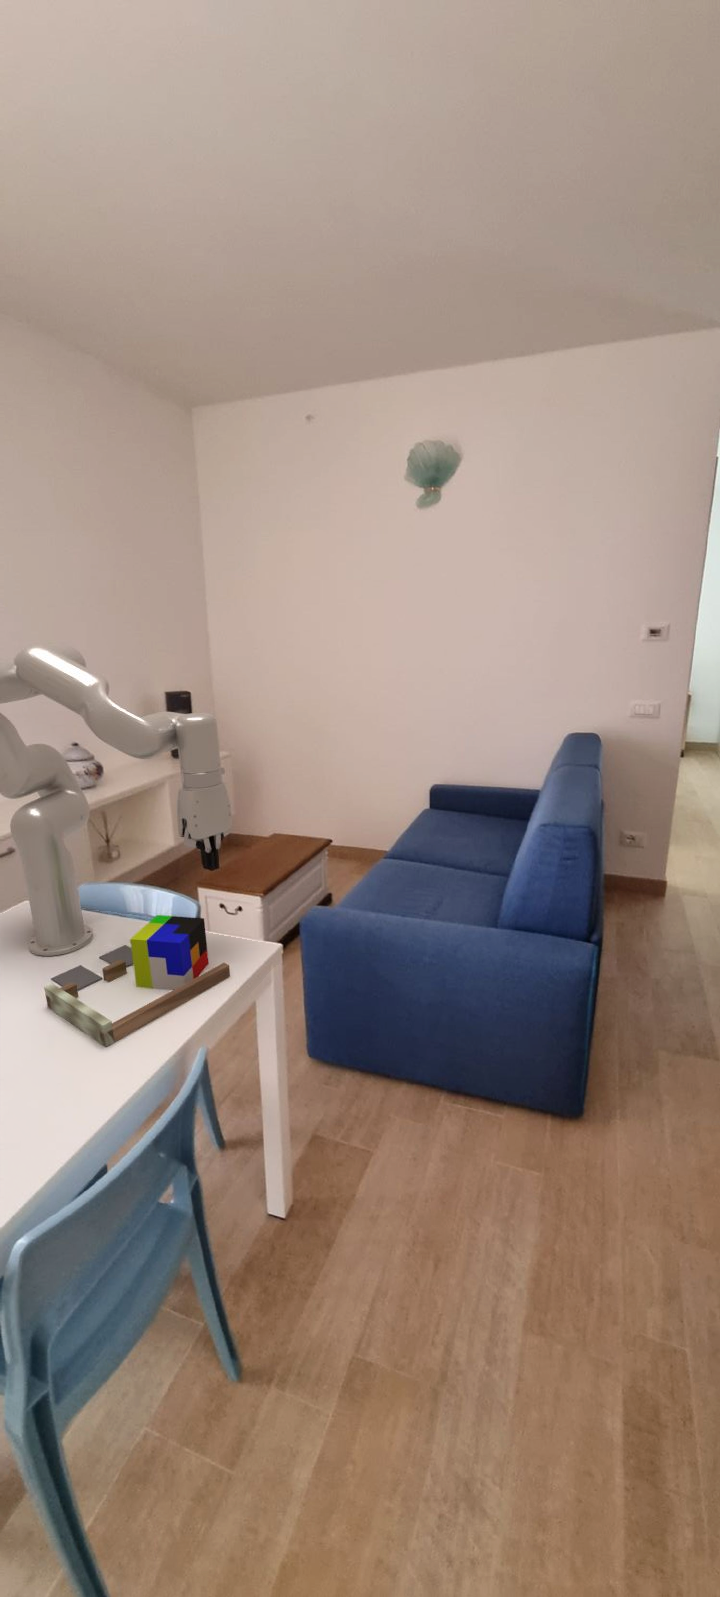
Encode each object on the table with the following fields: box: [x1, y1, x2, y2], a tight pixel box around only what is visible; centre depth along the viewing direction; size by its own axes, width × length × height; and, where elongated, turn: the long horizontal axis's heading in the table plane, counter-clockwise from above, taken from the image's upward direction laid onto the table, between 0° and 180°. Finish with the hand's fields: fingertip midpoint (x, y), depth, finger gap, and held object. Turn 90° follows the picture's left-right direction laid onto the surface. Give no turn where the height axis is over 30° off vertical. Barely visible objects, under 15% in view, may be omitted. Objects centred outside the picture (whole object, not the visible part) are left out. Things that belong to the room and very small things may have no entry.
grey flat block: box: [50, 964, 104, 991], centre depth 124 cm, size 8×6×1 cm
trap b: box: [98, 944, 134, 969], centre depth 131 cm, size 8×6×1 cm
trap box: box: [43, 960, 231, 1048], centre depth 119 cm, size 19×26×4 cm
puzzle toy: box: [129, 914, 209, 991], centre depth 123 cm, size 10×10×10 cm
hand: (211, 868), depth 128 cm, fingers closed
